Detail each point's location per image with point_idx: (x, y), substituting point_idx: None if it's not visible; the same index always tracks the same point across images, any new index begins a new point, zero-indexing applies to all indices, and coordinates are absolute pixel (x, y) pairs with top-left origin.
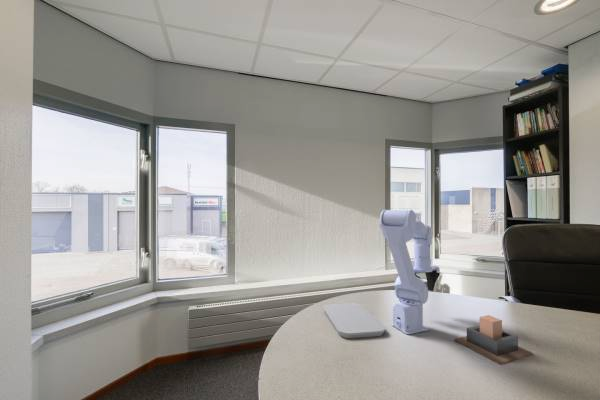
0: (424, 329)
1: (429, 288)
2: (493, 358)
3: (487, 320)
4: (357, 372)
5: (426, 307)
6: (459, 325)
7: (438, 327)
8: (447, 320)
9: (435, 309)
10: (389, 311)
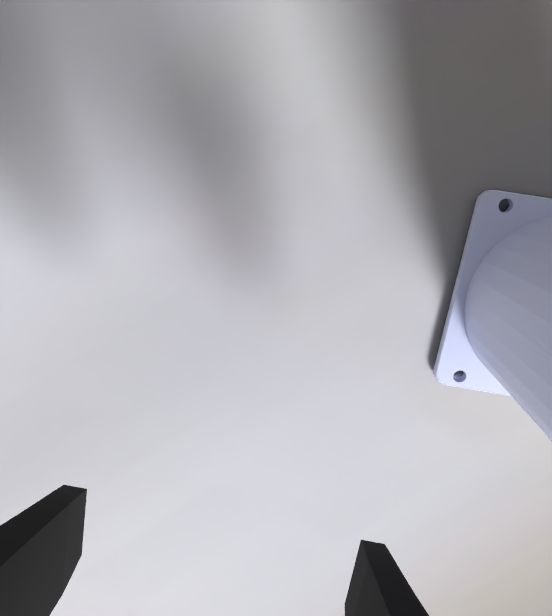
0: (532, 202)
1: (71, 548)
2: None
3: None
4: None
5: None
6: (137, 122)
7: (342, 190)
8: (137, 241)
9: (26, 429)
10: None
